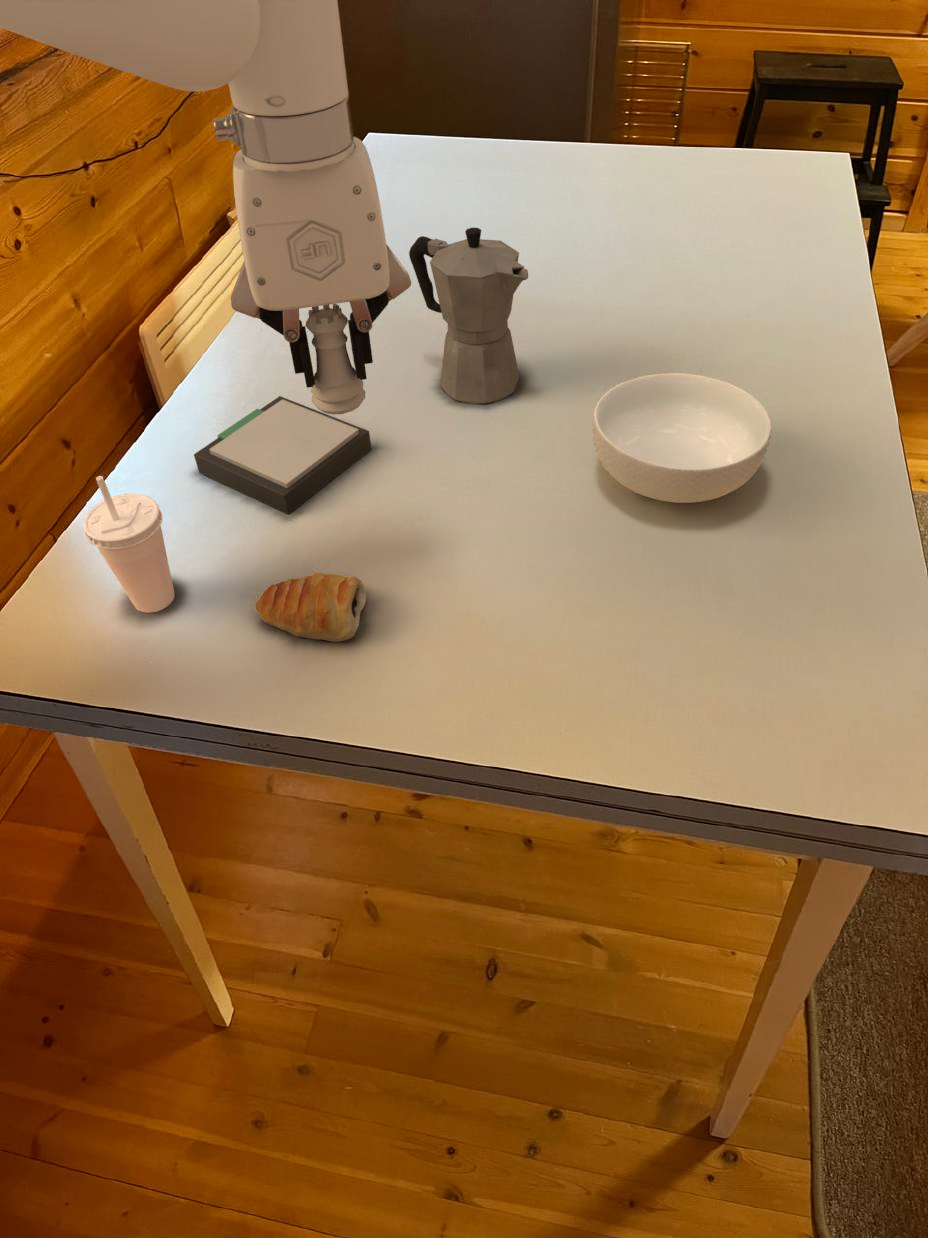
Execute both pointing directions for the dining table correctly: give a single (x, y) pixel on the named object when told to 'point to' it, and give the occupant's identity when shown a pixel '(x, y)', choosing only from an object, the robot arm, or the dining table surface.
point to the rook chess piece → (333, 363)
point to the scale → (283, 453)
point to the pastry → (315, 606)
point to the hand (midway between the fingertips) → (334, 372)
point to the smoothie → (132, 546)
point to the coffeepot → (473, 312)
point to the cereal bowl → (680, 436)
